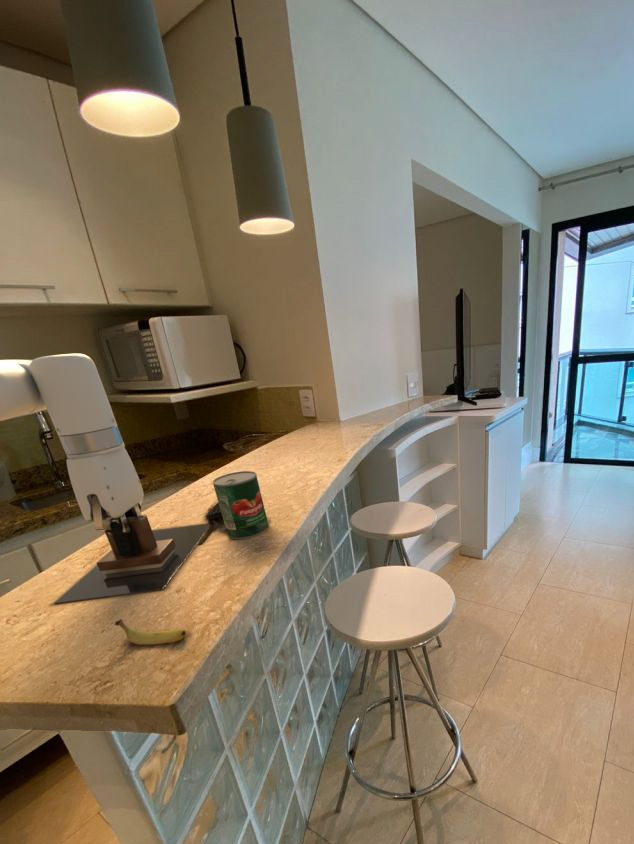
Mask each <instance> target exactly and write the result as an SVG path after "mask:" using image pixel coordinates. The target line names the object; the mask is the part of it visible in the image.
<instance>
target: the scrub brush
mask: <svg viewBox="0 0 634 844" xmlns="http://www.w3.org/2000/svg"><path fill="white" fill-rule="evenodd" d="M126 520H127V523H128V525H129V528H130V531H132V530H133V531H134V534H135V536H136V539H137V541H138V544H139V546H140V549H141V552H140V553H139V554H132V555H125V556H122V555H120V553H119V551H118V548H117V546H116V544H115V541H114V539H113V536H112V535H109V534H108V532H107V531H105V530H103V532H104V533H105V536H106V538H107V541H108V543H109V545H110V548H111V549H110V551H108V552H107V553H106V554H105V555H104V556H102V557H101V558H100V559H99V560H98V561H97V562H96V566H98V568H99V570H100V571H104V573H105V574H111V573H119V572H127V571H134V570H142V569H150V568H158V567H162V566H163V565H164V563H165V562H166V561H167V560H168V559H169V557H170V556H171V555H172V554H173V553H174V548H175V547H176V546H175V543H174V540H173V539H168V540H160V541H156V540H155V537H154V535H153V532H152V531H153V529H152V527H151V523H150V521H149V519H148V515H147V514H144V515H143V514H142V516H135V517H127V518H126ZM112 521H113V522H117V523H119V521H118V520H112Z"/></svg>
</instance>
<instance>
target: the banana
mask: <svg viewBox="0 0 634 844" xmlns="http://www.w3.org/2000/svg"><path fill="white" fill-rule="evenodd" d="M114 626H116V627H117V626H119V627H120V628H121V629H122V630H123V631H124V633H125V634H126V638H127V639H128V640H129V642H131V643H133V644H135V645H141V646H142V645H144V646H145V645H147V646H148V645H161V644H170V643H175V642H179V641H182V640H183V638H184V637H185V636H186V631H185V629H183V628H173V629H168V630H158V631H144V630H140V629H134V628H130V627H128V626H127V625H126V624H125V623H124V620H123V619H122V618H120V619H118V620H116V621H115V622H114Z"/></svg>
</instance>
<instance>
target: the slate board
mask: <svg viewBox="0 0 634 844" xmlns="http://www.w3.org/2000/svg"><path fill="white" fill-rule="evenodd" d="M213 529H214V524H213V523H212V522H211V523H203V524H194V525H186V526H179V527H170V528H163V529H155V530H152V532H153V535H154V537H155V540H156V541H160V540H168V539H173V540H174V543H175V546H176V547H175V548H174V553H173V554H172V555H171V556H170V557H169V559H168V560H167V561H166V562H165V563H164V565H163V566H162V567H158V568H150V569H142V570H134V571H127V572H119V573H111V574H105V573H104V571H100V570H99V568H98V566H97V565H95V566H94V567H93V568H92V569H90V570H89V572H87V574H84V576H83V577H82V578H81V579H80V580H78V581H77V582H76V583H75V584H74V585H73V586H71V587H70V589H68V590H67V591H66V592H65V593H64V594H63V595H61V597H59V598H58V599H56V601H54V603H53V604H54V605H59V604H67V603H75V602H81V601H89V600H96V599H104V598H111V597H118V596H126V595H135V594H142V593H148V592H149V593H150V592H158V591H164V590H165V589H166V587H167V586H168V585H169V584H170V582H171V581H172V579H173V578H174V577H175V575H176V574H177V572H179V570H180V568H181V567H182V566H183V565H184V563H185V561H187V559H188V558H189V556H190V555H191V554H192V552H193V551H195V548H196V547H199V546H202V544H203V543H204V541H205V540H206V539H207V537H208V536H209V535H210V533H211V532H212V530H213Z"/></svg>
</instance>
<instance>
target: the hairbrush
mask: <svg viewBox="0 0 634 844" xmlns="http://www.w3.org/2000/svg"><path fill="white" fill-rule="evenodd" d="M218 518H223V516H222V513H221V509H220V506H219V502H218V499H217V498H216V501H215V502H214V503H213V504H212V505H210V507H209V508H208V510H207V513H206V514H205V519H206V521H208V520H213V519H218Z"/></svg>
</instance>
